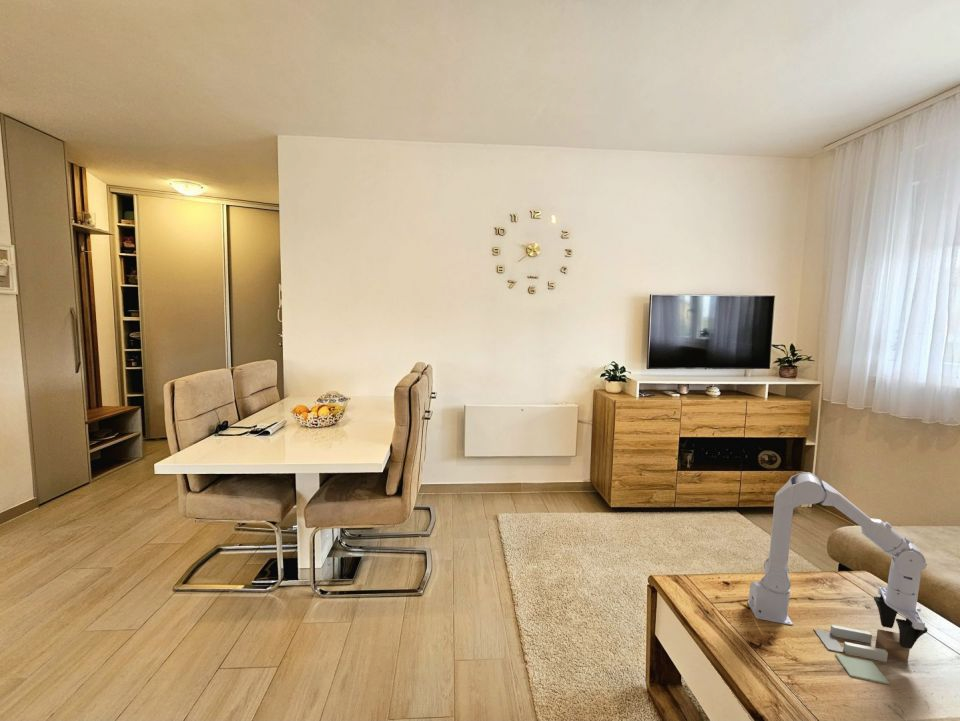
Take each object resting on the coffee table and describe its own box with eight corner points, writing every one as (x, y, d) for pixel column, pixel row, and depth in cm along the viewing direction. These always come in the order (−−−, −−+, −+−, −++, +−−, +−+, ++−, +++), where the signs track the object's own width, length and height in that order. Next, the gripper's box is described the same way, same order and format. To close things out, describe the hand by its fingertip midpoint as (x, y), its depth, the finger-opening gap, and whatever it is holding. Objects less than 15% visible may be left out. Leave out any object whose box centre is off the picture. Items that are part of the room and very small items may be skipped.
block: (884, 657, 114) (887, 639, 113) (875, 646, 117) (877, 629, 117) (907, 661, 112) (910, 644, 112) (897, 650, 116) (900, 633, 116)
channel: (827, 650, 115) (829, 641, 115) (813, 629, 123) (814, 621, 123) (886, 661, 112) (887, 653, 112) (868, 640, 119) (869, 631, 119)
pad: (850, 676, 107) (850, 674, 107) (835, 655, 113) (835, 653, 113) (889, 684, 105) (889, 683, 105) (871, 662, 111) (872, 661, 111)
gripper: (943, 609, 105) (935, 660, 106) (902, 575, 119) (896, 621, 120) (907, 603, 107) (900, 654, 108) (871, 570, 121) (865, 616, 122)
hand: (895, 636), depth 114 cm, fingers open, 7 cm apart
